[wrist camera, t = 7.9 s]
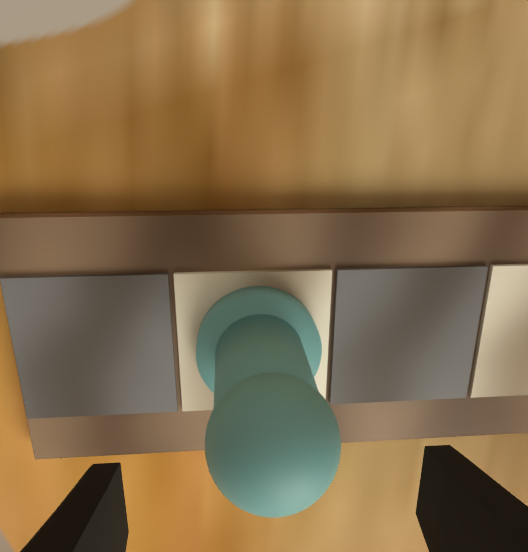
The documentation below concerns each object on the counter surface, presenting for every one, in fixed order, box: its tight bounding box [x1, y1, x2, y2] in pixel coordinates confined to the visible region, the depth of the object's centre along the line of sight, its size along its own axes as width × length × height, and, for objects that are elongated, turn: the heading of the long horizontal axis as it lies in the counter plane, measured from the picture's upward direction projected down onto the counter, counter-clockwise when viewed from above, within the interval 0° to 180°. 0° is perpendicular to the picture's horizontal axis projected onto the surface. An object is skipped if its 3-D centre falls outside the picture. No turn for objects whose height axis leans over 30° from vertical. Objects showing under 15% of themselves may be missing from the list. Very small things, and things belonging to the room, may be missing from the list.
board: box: [0, 206, 528, 459], centre depth 19 cm, size 24×10×1 cm, turn 90°
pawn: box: [196, 286, 341, 518], centre depth 14 cm, size 5×5×8 cm
